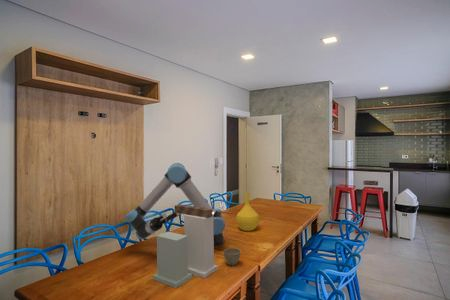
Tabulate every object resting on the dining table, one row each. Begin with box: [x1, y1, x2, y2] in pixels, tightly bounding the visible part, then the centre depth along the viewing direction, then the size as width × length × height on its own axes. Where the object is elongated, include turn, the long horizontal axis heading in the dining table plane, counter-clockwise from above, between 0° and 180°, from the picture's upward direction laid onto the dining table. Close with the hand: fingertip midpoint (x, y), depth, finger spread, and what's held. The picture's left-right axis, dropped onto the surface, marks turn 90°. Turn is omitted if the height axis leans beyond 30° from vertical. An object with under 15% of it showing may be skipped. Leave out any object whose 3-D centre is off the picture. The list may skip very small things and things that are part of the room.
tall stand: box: [183, 214, 219, 279], centre depth 145 cm, size 16×12×30 cm
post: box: [152, 231, 193, 289], centre depth 136 cm, size 16×12×22 cm
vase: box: [235, 192, 260, 232], centre depth 216 cm, size 18×18×30 cm
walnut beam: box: [174, 203, 214, 218], centre depth 147 cm, size 24×4×4 cm, turn 57°
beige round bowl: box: [222, 247, 242, 266], centre depth 153 cm, size 10×10×7 cm
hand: (175, 211), depth 153 cm, fingers open, 13 cm apart
